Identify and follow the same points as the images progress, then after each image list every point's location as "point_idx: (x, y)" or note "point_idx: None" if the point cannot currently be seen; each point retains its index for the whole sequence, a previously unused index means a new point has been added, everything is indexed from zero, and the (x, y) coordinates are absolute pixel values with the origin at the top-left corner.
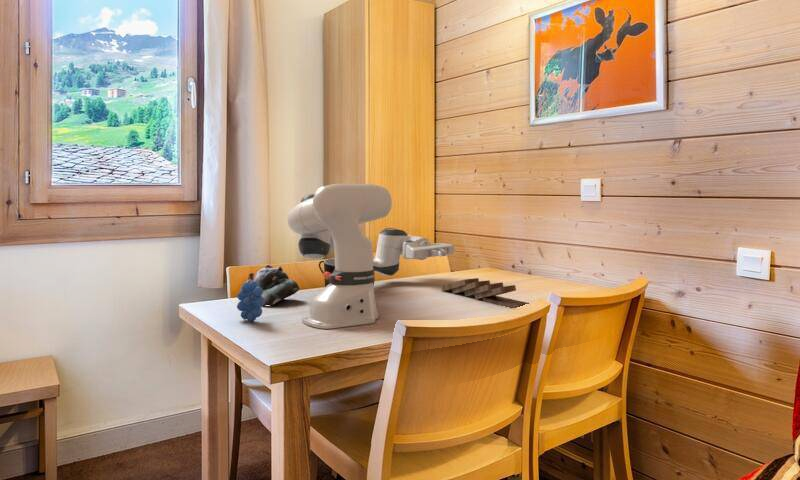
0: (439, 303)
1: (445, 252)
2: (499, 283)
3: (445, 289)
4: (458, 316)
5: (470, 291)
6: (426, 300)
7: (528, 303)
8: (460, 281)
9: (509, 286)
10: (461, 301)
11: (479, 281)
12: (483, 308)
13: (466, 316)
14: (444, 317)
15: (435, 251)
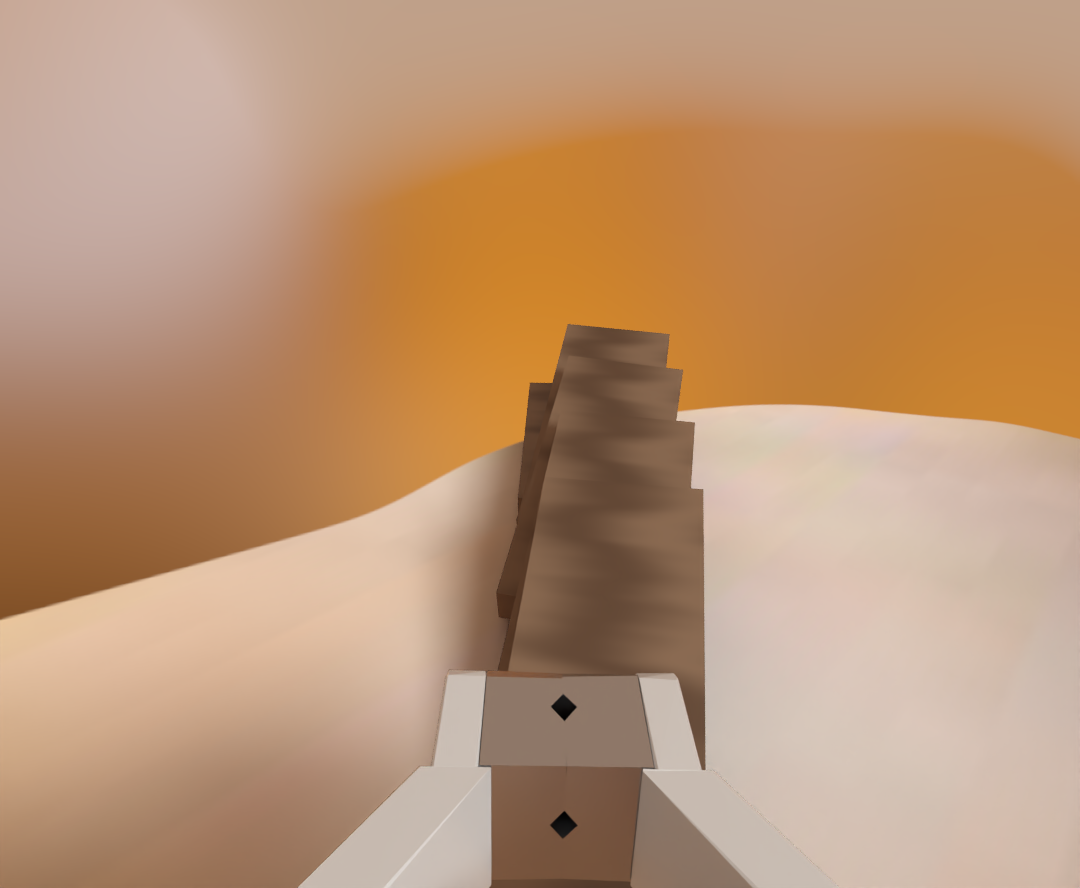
0: (967, 605)
1: (501, 679)
2: (591, 362)
3: None
4: (949, 432)
5: None
6: (1065, 718)
7: (539, 383)
8: (703, 544)
9: (606, 331)
10: (770, 574)
11: (650, 418)
12: (746, 453)
13: (909, 422)
14: (1029, 444)
15: (766, 843)
